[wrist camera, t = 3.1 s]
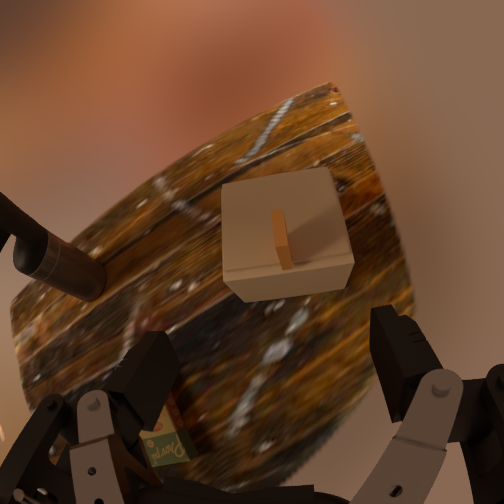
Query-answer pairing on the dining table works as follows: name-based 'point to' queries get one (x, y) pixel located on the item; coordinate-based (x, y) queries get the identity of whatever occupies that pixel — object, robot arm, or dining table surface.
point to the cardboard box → (291, 275)
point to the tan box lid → (281, 220)
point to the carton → (169, 438)
